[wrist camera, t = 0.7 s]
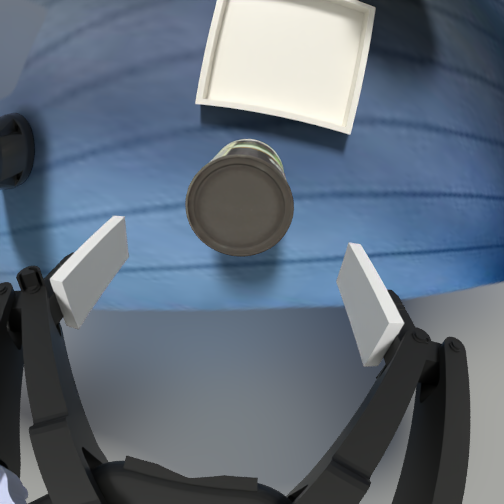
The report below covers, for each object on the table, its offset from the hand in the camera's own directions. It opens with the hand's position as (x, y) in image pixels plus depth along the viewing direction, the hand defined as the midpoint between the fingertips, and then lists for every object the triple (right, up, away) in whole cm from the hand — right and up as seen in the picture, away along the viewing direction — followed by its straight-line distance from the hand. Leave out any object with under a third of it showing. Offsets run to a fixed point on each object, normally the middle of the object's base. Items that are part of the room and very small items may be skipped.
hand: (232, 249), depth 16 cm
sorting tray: (+6, +27, +13) cm, 30 cm away
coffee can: (0, +11, +23) cm, 25 cm away
